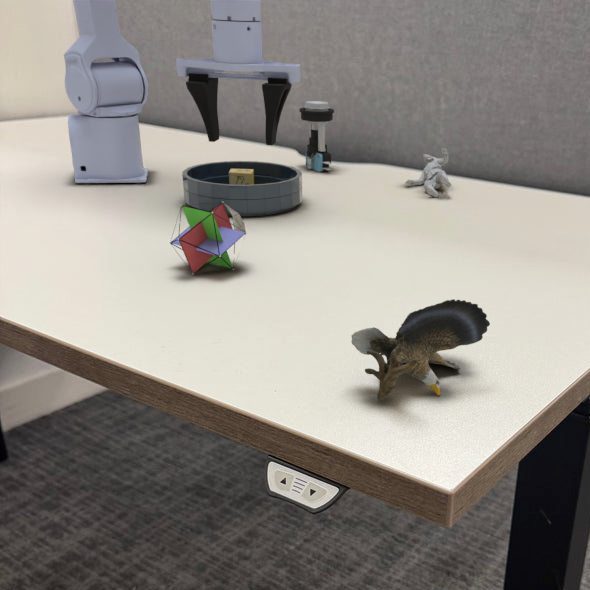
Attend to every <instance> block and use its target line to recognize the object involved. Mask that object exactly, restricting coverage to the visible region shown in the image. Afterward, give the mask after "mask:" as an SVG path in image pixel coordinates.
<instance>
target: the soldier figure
mask: <svg viewBox="0 0 590 590" xmlns="http://www.w3.org/2000/svg"><path fill="white" fill-rule="evenodd" d="M441 154H443V157H441V158H438V157H435V156H432V155H430V154H428V153H427V154H426V153H424V154H422V158H423V160H424V163H425V165H424V168H423V170H422V172H421V173H420V177H419V178H418V179H407V180H406V181H405V183H404V184H405V185H406V184H407V186H408V187H409V186H421V185H423V187H424V190H425V191H426V193H427V194H428V196H432V197H434V198H438V197H440V194H439V192H438V191H437V190H438V189H439V188H440V187H441V186H443V185H444V186H446V187H447V188H451V187H452V183H451V181H450V180H449V178H448V175H447V173H446V170H443V166H446V165H447V164H448V163H449V159H450V158H449V152H448V149H447V148H445V147H443V148H441Z"/></svg>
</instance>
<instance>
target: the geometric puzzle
mask: <svg viewBox="0 0 590 590" xmlns="http://www.w3.org/2000/svg"><path fill="white" fill-rule="evenodd" d="M217 203H220V202H217ZM205 204H208V203H205ZM192 205H195V204H192ZM224 205H225V206H226V208H227V209H228V210H229V212H230V213H231V215H232V216H231V217H232V222H231V221H230V220H231V219H230V218H229V216H228V215H227V212H226V209H225V206H224ZM213 209H214V208H213ZM213 209H212V210H213ZM181 210H183V211H182V212H183V213H184V216H185V219H186V221H187V223H188V227H187V228H186V229H185V230H183V231H182V232H180V231H181V230H180V229H181V224H178V225H179V226H178V233H179V234H178V235H177V236H176V237H175V238H174V239H173V235H174V232H175V231H173V232H172V234H171V237H170V240H171V241H170V242H169V245H171V246H172V248H173V249H175V247H176V248H178V249H179V250H181V251H182V252H183V254H184V256H185V258H186V261H187V263H186V262H185V261H184V259H183V258H182V257H181V255H180V254H179V253H178V251H177V250H175V253H177V255H178V256H179V257H180V259H181V260H182V261H183V262H184V264H185V265H186V267H187V268H188V269H189V270H190V272H191V275H197V274H199V273H198V272H199V271H201V270H202V269H203V268H205V267H206V266H208V265H210V264H212V265H214V266H215V265H216V266H219V267H222V268H227V269H229V271H232V270H233V271H234V270H235V267H236V265H237V264H236V263H237V259H238V257H239V254H240V253H238V255H237V258H236V259H235V261H236V262H235V261H231V259H230V255H229V253H228V251H229V250H230V248H231V247H232V246H233V253H235V250H236V249H235V248H236V243H238V241H239V240H240V239H241V238H242V237H243V239H245V237H246V235H247V234H248V231H246V225H245V222H244V220H243V218H242V217H241V216H240V214H239V213H237V212H236V211H235V210H233V209H232V208H230V207H229V206H228V205H226V204H225V203H224V204H223V202H222V203H220V204H219V206H218V205H217V206H216V207H215V209H214V210H213V211H212V210H210V211H211V212H210V211H209V212H208V211H204V210H200V209H195V208H193V207H192V206H188V205H184V204H180V208H179V213H178V215H177V219H176V220H178V219H179V221H181V220H182V219H181V218H182V212H181ZM175 222H176V223H175V226H174V229H173V230H175V229H176V226H177V221H175ZM232 262H233V264H232ZM187 264H188V265H187ZM222 271H223V272H224V269H222V270H220V272H222ZM214 272H216V270H214V271H212V273H214ZM204 273H205V274H206V273H207V271H206V272H203V274H204Z"/></svg>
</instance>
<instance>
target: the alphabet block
mask: <svg viewBox="0 0 590 590" xmlns="http://www.w3.org/2000/svg"><path fill="white" fill-rule="evenodd" d="M229 184H232V185H252V184H254V169H230V171H229Z"/></svg>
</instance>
